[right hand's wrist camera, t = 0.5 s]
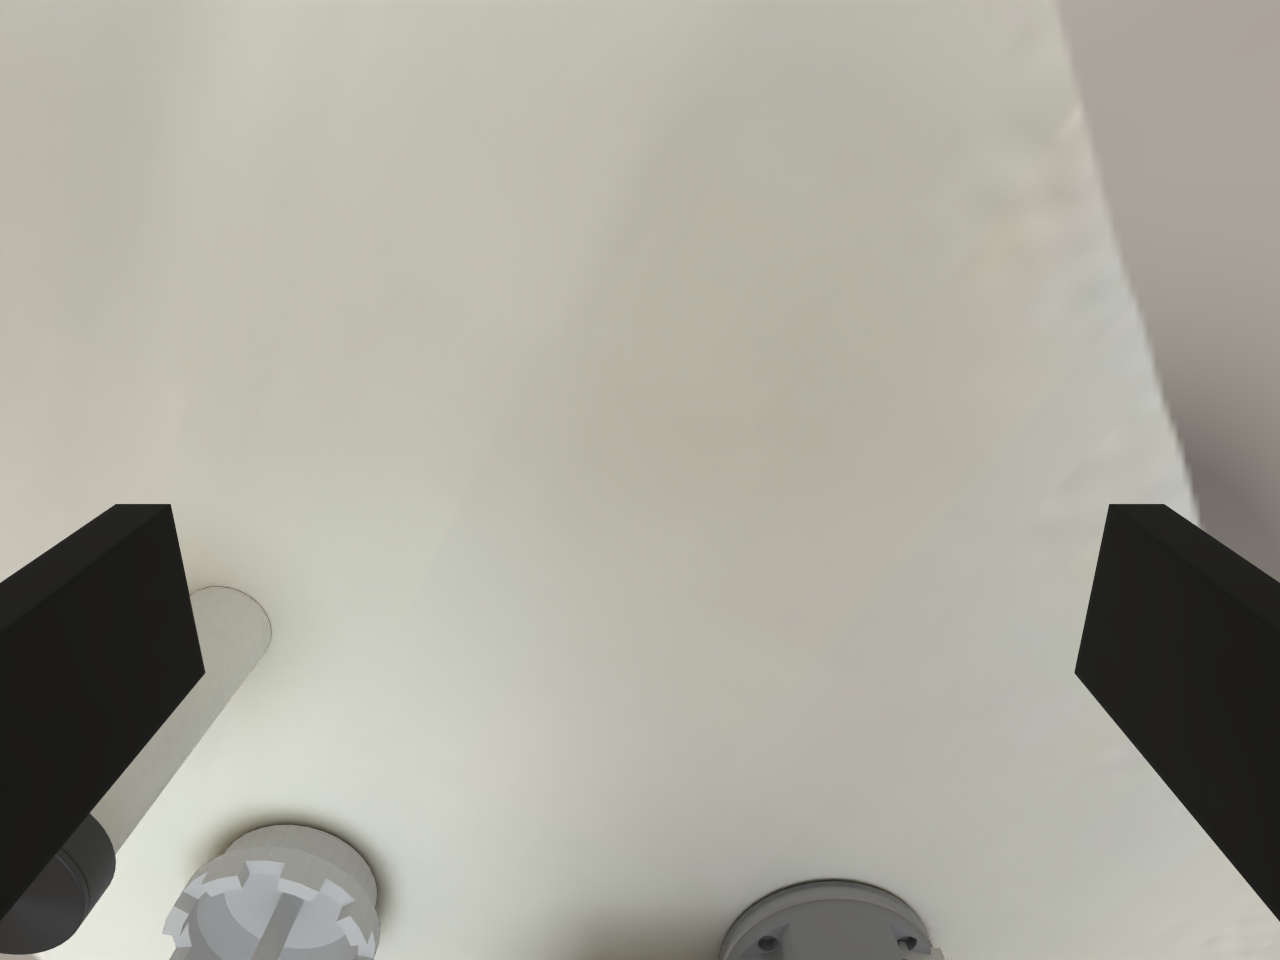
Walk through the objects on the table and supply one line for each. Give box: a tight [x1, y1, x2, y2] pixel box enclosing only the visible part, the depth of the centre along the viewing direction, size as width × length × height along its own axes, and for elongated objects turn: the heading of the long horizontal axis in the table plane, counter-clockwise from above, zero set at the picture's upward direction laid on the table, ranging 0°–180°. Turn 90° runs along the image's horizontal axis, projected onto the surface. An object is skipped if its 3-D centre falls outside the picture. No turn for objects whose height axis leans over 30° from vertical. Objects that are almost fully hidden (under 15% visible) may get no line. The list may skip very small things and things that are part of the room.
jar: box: [90, 587, 271, 854], centre depth 44 cm, size 6×6×20 cm
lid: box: [0, 813, 116, 954], centre depth 35 cm, size 7×7×2 cm
